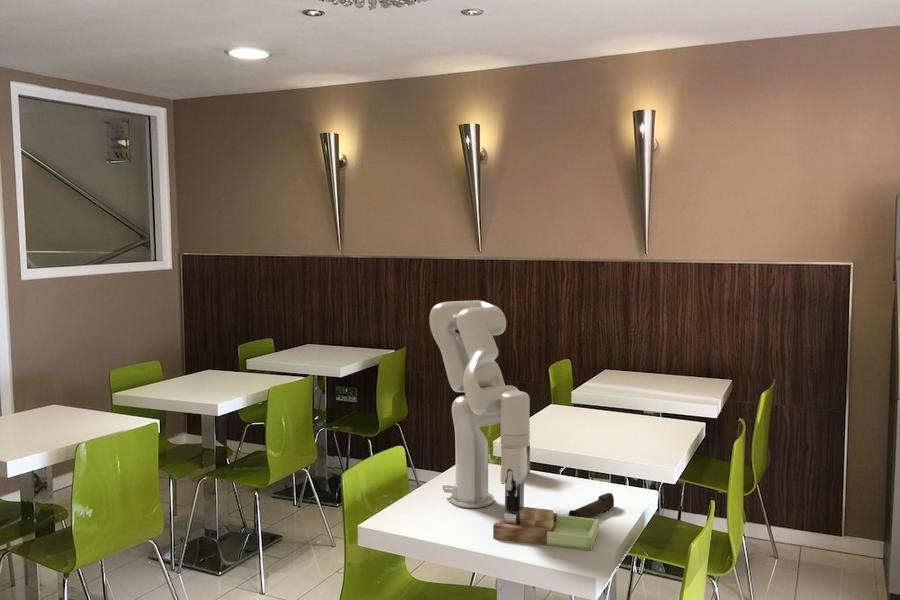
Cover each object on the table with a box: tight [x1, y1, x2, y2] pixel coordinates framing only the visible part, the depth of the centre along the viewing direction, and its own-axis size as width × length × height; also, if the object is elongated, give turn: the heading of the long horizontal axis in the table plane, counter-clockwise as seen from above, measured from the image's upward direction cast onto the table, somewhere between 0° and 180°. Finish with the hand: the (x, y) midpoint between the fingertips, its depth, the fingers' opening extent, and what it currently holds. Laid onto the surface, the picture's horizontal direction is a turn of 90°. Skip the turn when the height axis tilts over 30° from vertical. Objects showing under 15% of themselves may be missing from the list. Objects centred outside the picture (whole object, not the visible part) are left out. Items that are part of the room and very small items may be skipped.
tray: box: [546, 514, 600, 551], centre depth 196 cm, size 11×13×3 cm
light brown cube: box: [520, 506, 540, 527], centre depth 200 cm, size 4×4×4 cm
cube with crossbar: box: [504, 478, 525, 525], centre depth 201 cm, size 4×8×12 cm, turn 160°
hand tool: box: [568, 492, 615, 518], centre depth 212 cm, size 19×4×5 cm, turn 132°
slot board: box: [492, 512, 558, 546], centre depth 200 cm, size 14×13×4 cm
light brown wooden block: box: [535, 508, 555, 531], centre depth 199 cm, size 4×4×4 cm
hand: (515, 506), depth 201 cm, fingers closed on cube with crossbar, 4 cm apart
